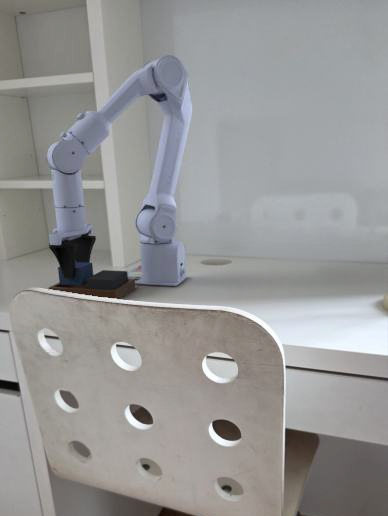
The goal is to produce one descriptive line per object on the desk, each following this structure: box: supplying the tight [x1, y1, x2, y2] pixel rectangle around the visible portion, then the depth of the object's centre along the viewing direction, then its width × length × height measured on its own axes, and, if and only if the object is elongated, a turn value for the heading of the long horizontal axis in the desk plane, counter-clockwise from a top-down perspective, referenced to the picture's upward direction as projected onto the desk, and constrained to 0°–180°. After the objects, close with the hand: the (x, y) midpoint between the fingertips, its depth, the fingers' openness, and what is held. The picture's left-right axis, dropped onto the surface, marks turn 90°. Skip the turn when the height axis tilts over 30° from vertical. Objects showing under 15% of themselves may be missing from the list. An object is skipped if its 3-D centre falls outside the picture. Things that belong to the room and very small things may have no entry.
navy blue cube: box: [57, 261, 94, 286], centre depth 108 cm, size 5×5×4 cm
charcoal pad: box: [86, 269, 128, 290], centre depth 107 cm, size 6×8×3 cm
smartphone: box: [127, 264, 142, 280], centre depth 125 cm, size 7×1×15 cm
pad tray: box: [48, 279, 136, 300], centre depth 108 cm, size 15×10×2 cm
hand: (76, 274), depth 108 cm, fingers closed on navy blue cube, 5 cm apart
